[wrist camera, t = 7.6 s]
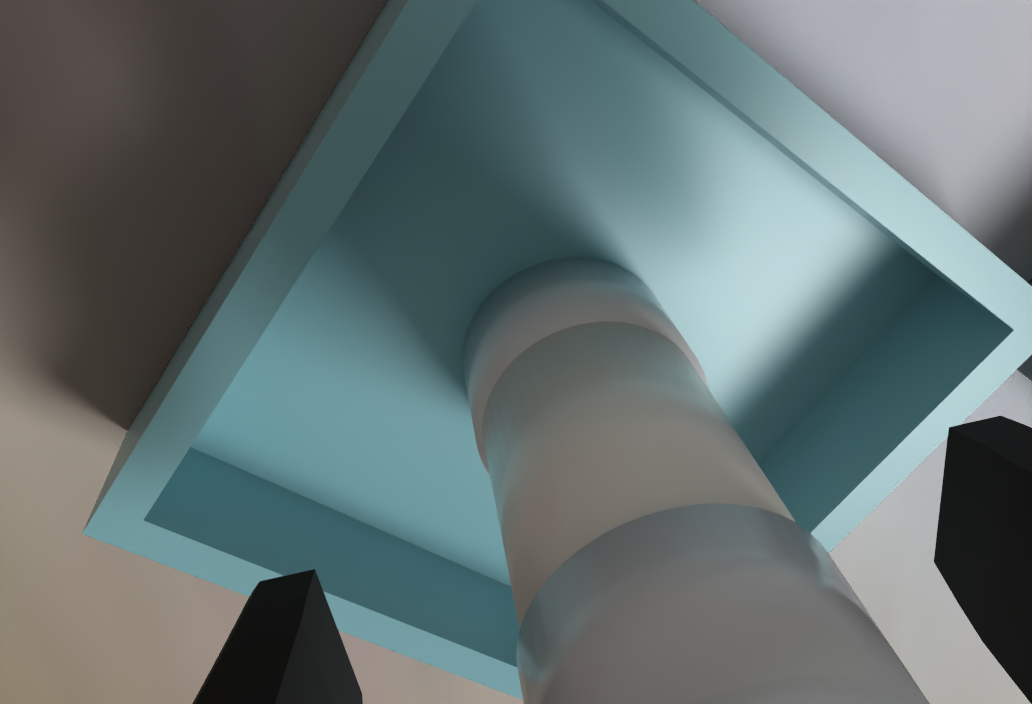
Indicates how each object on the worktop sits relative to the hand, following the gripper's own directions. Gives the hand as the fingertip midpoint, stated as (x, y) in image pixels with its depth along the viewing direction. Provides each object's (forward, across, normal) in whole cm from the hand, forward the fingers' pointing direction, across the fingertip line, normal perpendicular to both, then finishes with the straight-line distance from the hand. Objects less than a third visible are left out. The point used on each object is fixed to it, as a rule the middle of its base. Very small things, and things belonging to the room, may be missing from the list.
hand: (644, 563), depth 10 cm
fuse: (+5, 0, 0) cm, 5 cm away
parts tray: (+5, 0, 0) cm, 5 cm away
